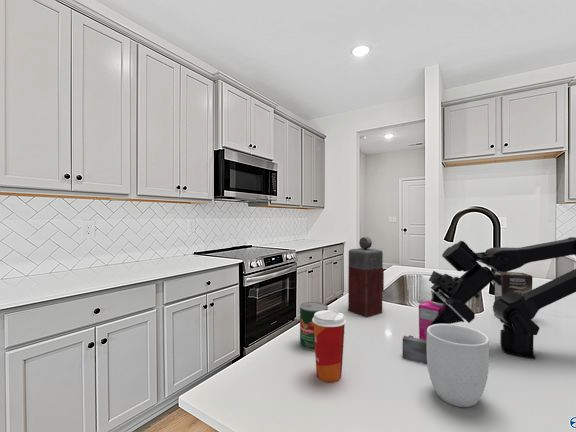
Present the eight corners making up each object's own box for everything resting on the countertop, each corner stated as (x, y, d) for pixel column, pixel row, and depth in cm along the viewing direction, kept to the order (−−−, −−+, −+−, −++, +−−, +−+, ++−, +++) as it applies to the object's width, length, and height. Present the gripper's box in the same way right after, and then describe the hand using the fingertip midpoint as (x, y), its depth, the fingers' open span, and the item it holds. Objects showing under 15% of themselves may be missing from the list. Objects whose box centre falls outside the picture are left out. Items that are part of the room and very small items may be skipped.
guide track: (456, 354, 80) (457, 335, 80) (455, 370, 72) (456, 349, 72) (408, 343, 86) (408, 326, 86) (402, 357, 78) (402, 338, 78)
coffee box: (501, 321, 104) (502, 274, 103) (493, 315, 110) (494, 270, 110) (532, 323, 102) (533, 275, 101) (522, 317, 108) (523, 272, 108)
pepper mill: (386, 311, 113) (387, 237, 113) (366, 317, 107) (366, 238, 107) (368, 305, 121) (368, 235, 120) (347, 310, 115) (348, 236, 114)
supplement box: (427, 338, 90) (427, 299, 89) (448, 345, 85) (448, 304, 85) (417, 344, 86) (418, 303, 86) (439, 351, 81) (439, 308, 81)
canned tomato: (329, 340, 88) (329, 302, 88) (325, 352, 81) (325, 311, 80) (303, 337, 90) (303, 300, 90) (296, 349, 83) (296, 308, 83)
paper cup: (323, 363, 75) (323, 307, 74) (352, 374, 70) (352, 314, 70) (305, 377, 69) (305, 315, 68) (334, 389, 64) (334, 323, 64)
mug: (441, 369, 72) (441, 315, 72) (496, 388, 64) (497, 327, 64) (418, 398, 61) (418, 333, 61) (481, 424, 53) (482, 351, 53)
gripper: (438, 257, 94) (400, 291, 96) (461, 268, 75) (414, 310, 77) (465, 283, 92) (427, 317, 94) (496, 301, 74) (447, 343, 76)
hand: (427, 320), depth 86 cm, fingers closed on supplement box, 8 cm apart
